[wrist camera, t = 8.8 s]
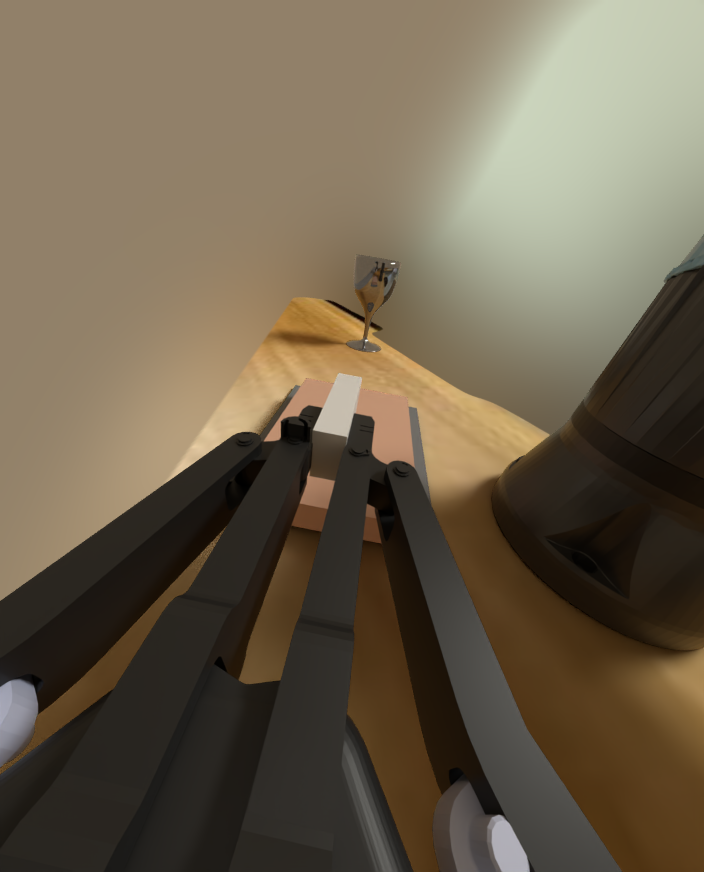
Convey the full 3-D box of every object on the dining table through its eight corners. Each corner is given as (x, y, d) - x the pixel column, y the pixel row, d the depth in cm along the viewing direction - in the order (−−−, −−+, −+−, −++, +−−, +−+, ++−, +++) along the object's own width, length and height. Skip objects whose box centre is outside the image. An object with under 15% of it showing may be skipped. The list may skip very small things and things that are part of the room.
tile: (409, 550, 18) (401, 415, 33) (420, 527, 17) (407, 397, 31) (235, 515, 18) (305, 397, 33) (230, 489, 17) (306, 378, 32)
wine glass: (377, 355, 51) (397, 263, 43) (338, 346, 53) (349, 254, 44) (386, 345, 58) (404, 262, 49) (351, 336, 59) (363, 254, 50)
